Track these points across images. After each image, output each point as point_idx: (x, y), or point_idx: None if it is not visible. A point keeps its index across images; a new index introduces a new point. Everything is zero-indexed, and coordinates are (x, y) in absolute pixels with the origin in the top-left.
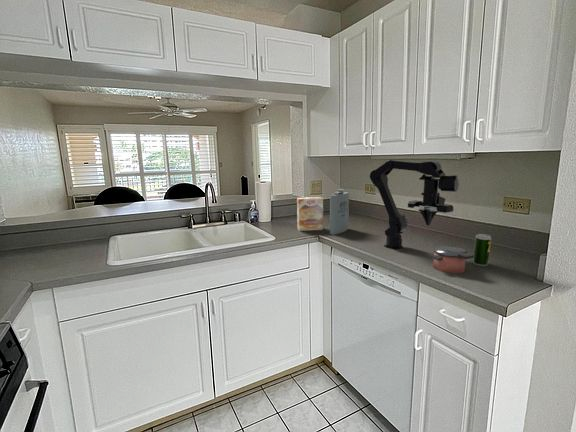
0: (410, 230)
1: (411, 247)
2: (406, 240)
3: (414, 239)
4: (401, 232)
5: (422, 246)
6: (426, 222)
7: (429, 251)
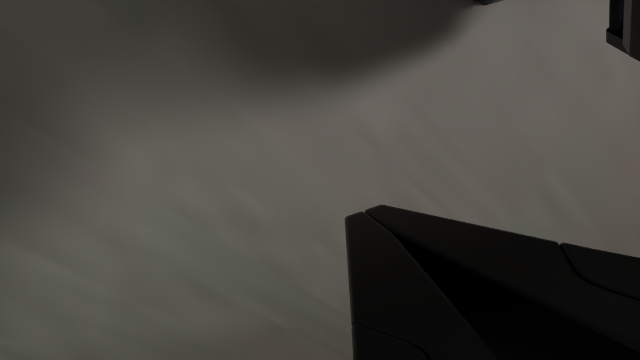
0: None
1: (432, 72)
2: (548, 153)
3: (527, 211)
4: (622, 26)
5: (406, 167)
6: (404, 223)
7: (292, 136)
